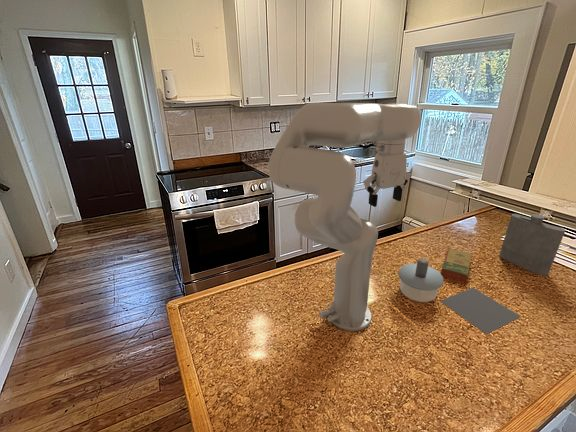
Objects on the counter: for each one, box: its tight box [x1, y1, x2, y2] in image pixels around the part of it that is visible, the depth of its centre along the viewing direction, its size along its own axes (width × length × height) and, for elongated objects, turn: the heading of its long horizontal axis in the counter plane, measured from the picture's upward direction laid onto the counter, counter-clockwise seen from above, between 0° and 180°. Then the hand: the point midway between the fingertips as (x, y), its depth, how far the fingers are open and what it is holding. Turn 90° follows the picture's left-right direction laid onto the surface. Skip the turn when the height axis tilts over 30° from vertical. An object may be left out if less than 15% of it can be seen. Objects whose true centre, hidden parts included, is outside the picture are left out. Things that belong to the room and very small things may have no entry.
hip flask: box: [499, 213, 566, 277], centre depth 107 cm, size 16×4×20 cm, turn 29°
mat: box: [440, 287, 522, 335], centre depth 90 cm, size 15×15×1 cm
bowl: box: [399, 279, 439, 303], centre depth 97 cm, size 11×11×6 cm
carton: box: [439, 247, 472, 284], centre depth 109 cm, size 8×16×4 cm, turn 148°
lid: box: [398, 258, 444, 291], centre depth 95 cm, size 13×13×6 cm
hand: (384, 202), depth 96 cm, fingers open, 9 cm apart
